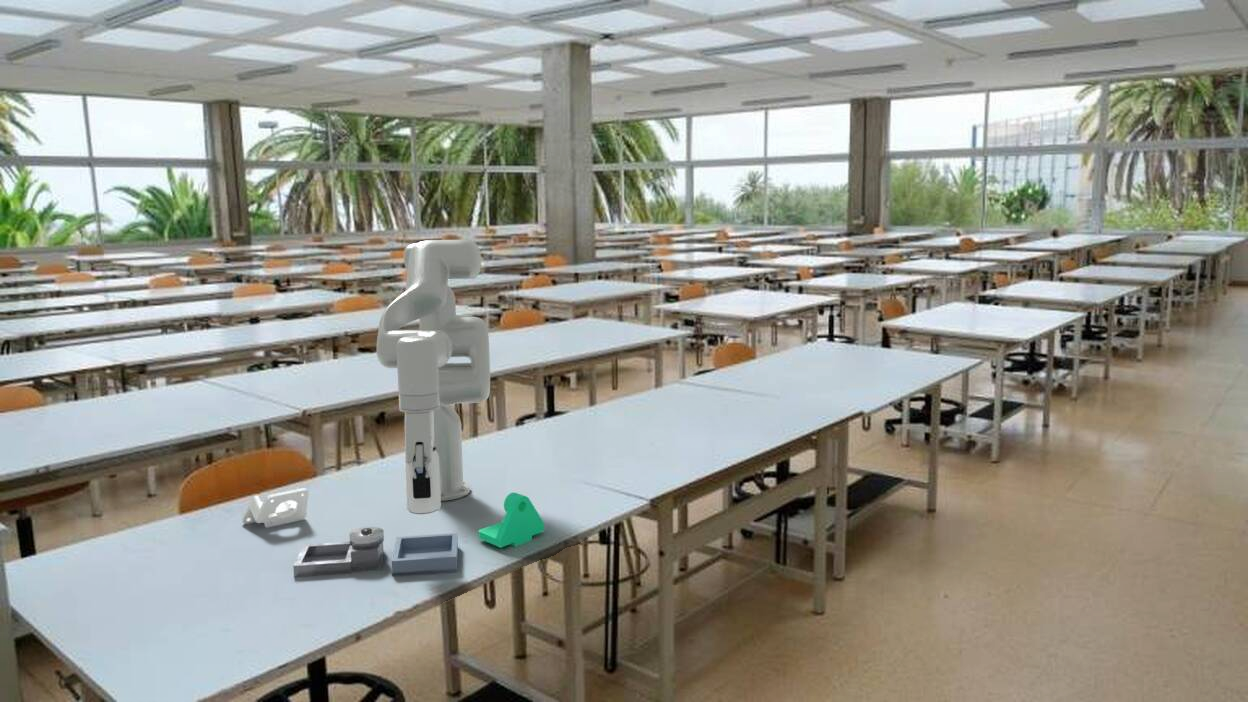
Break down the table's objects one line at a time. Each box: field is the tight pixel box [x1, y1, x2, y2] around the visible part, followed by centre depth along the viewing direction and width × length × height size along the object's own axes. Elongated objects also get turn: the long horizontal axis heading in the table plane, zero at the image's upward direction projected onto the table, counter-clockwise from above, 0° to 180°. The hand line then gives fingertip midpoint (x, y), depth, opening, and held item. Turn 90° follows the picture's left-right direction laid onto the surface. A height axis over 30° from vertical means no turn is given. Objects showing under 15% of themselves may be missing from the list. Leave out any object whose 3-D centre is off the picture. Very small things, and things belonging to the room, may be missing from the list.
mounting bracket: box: [241, 487, 309, 529], centre depth 192 cm, size 12×6×11 cm, turn 128°
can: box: [404, 446, 442, 515], centre depth 169 cm, size 6×6×12 cm
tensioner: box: [292, 526, 385, 578], centre depth 171 cm, size 10×16×6 cm, turn 100°
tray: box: [391, 532, 459, 577], centre depth 172 cm, size 12×12×3 cm
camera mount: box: [478, 492, 546, 549], centre depth 183 cm, size 12×8×10 cm, turn 138°
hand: (423, 490), depth 170 cm, fingers closed on can, 6 cm apart
